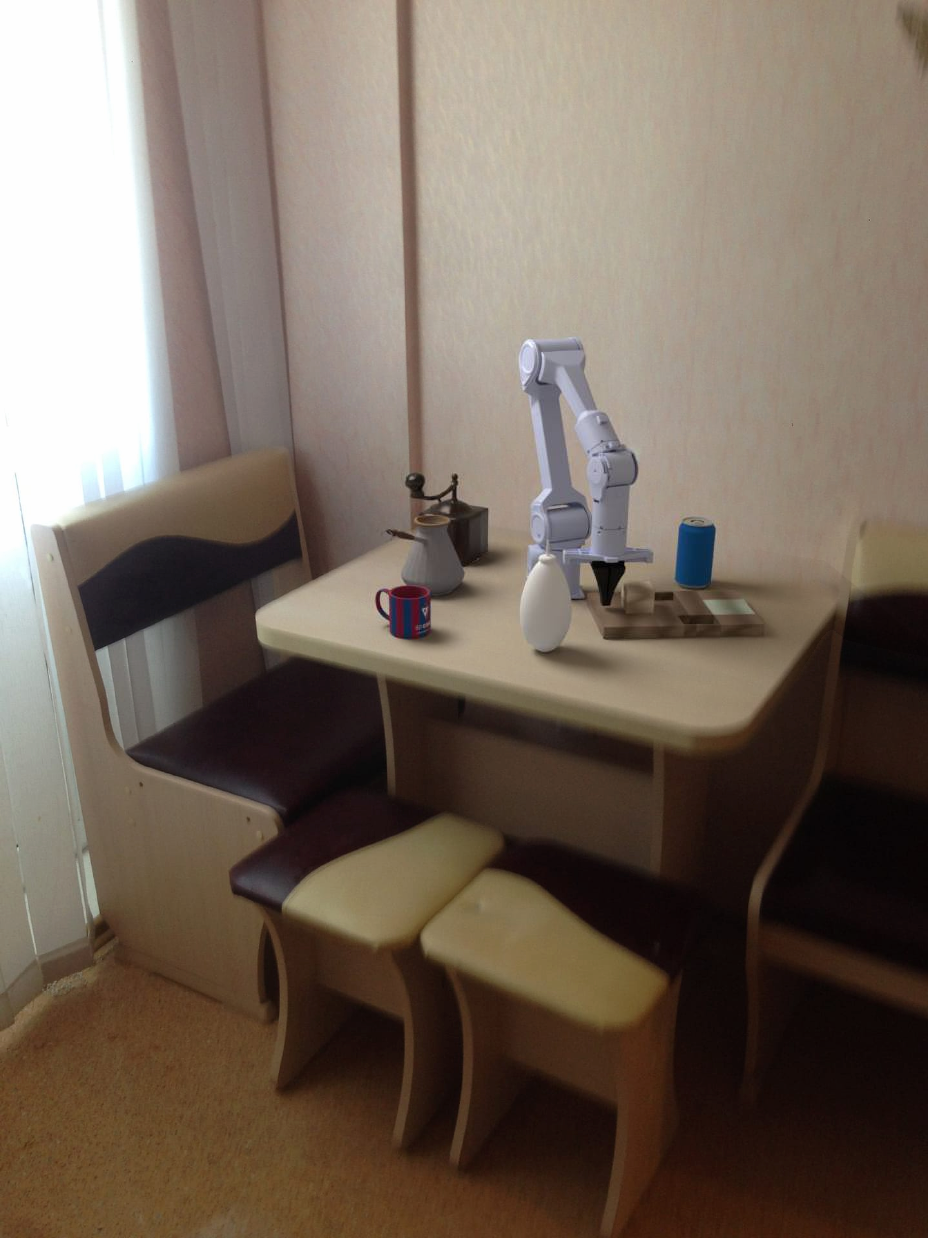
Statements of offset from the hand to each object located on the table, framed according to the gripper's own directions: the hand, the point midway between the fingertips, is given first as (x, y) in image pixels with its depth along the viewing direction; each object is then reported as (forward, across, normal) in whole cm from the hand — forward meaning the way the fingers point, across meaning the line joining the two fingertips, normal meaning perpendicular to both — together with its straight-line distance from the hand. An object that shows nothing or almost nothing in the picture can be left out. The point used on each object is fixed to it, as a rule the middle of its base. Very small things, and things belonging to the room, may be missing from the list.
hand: (605, 603), depth 179 cm
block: (+1, +5, 0) cm, 5 cm away
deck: (+3, +11, 0) cm, 12 cm away
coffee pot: (+3, -31, +13) cm, 33 cm away
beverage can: (+3, +19, +17) cm, 26 cm away
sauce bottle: (+3, -12, -12) cm, 17 cm away
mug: (+3, -34, -2) cm, 34 cm away
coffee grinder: (+3, -25, +34) cm, 42 cm away
